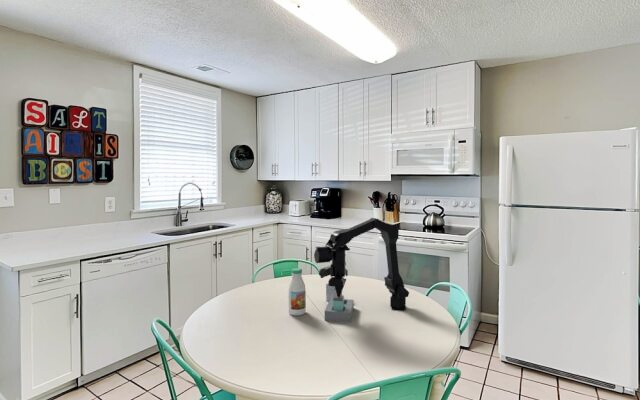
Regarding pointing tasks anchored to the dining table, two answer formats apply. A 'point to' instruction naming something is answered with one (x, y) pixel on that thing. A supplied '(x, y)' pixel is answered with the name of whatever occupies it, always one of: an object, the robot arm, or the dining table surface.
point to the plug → (338, 303)
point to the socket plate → (339, 315)
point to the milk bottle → (296, 294)
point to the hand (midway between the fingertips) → (338, 296)
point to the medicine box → (330, 292)
